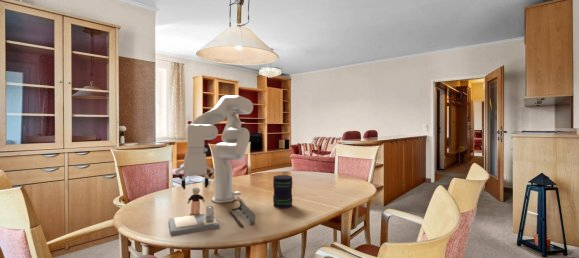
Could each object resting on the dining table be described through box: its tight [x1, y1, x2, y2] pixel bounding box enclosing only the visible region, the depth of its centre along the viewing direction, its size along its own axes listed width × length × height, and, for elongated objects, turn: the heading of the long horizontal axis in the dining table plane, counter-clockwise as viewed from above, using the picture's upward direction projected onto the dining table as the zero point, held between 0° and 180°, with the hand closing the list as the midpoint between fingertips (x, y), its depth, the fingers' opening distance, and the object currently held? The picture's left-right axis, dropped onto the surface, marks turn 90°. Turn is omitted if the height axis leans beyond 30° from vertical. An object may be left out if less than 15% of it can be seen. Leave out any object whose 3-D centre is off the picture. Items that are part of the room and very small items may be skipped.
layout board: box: [168, 213, 220, 236], centre depth 117 cm, size 18×16×2 cm
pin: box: [205, 205, 215, 223], centre depth 116 cm, size 3×3×6 cm
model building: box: [227, 196, 256, 226], centre depth 127 cm, size 7×7×25 cm
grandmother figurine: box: [187, 186, 205, 216], centre depth 131 cm, size 8×4×13 cm, turn 117°
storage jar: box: [272, 174, 293, 210], centre depth 145 cm, size 10×10×15 cm
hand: (195, 188), depth 130 cm, fingers open, 9 cm apart
